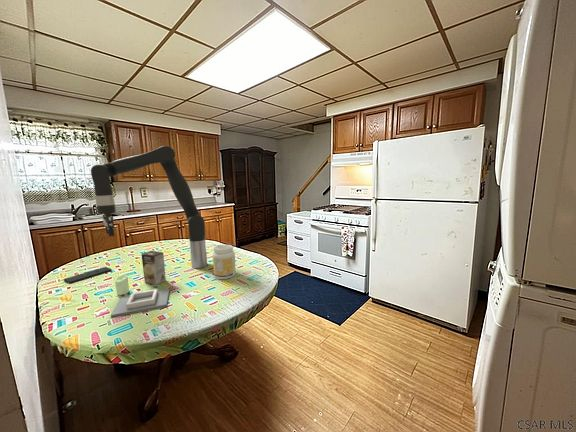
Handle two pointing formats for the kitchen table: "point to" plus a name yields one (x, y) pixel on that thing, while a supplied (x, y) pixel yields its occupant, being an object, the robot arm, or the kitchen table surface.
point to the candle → (122, 285)
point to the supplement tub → (224, 262)
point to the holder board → (141, 302)
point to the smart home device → (87, 275)
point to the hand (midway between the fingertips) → (110, 234)
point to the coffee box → (153, 267)
